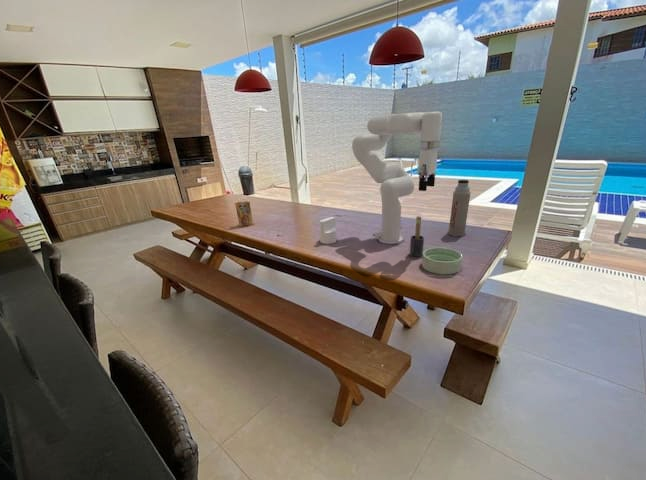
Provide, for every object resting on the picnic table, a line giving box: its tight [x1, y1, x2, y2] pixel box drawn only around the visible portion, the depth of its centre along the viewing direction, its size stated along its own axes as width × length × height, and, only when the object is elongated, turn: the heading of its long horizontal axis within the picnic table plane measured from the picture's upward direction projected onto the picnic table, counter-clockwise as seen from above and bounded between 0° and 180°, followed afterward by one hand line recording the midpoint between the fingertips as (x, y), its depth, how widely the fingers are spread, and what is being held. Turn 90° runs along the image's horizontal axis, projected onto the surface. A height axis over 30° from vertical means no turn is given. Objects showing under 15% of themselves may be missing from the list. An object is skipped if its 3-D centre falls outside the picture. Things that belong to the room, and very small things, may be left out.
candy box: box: [234, 199, 254, 227], centre depth 197 cm, size 9×4×15 cm, turn 103°
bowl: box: [421, 246, 464, 275], centre depth 128 cm, size 15×15×6 cm
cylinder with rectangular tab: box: [318, 216, 338, 245], centre depth 163 cm, size 9×9×12 cm
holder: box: [409, 234, 425, 258], centre depth 140 cm, size 6×6×9 cm
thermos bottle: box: [448, 179, 471, 237], centre depth 158 cm, size 8×8×28 cm
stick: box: [414, 215, 422, 239], centre depth 137 cm, size 2×2×18 cm
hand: (426, 188), depth 131 cm, fingers open, 9 cm apart
